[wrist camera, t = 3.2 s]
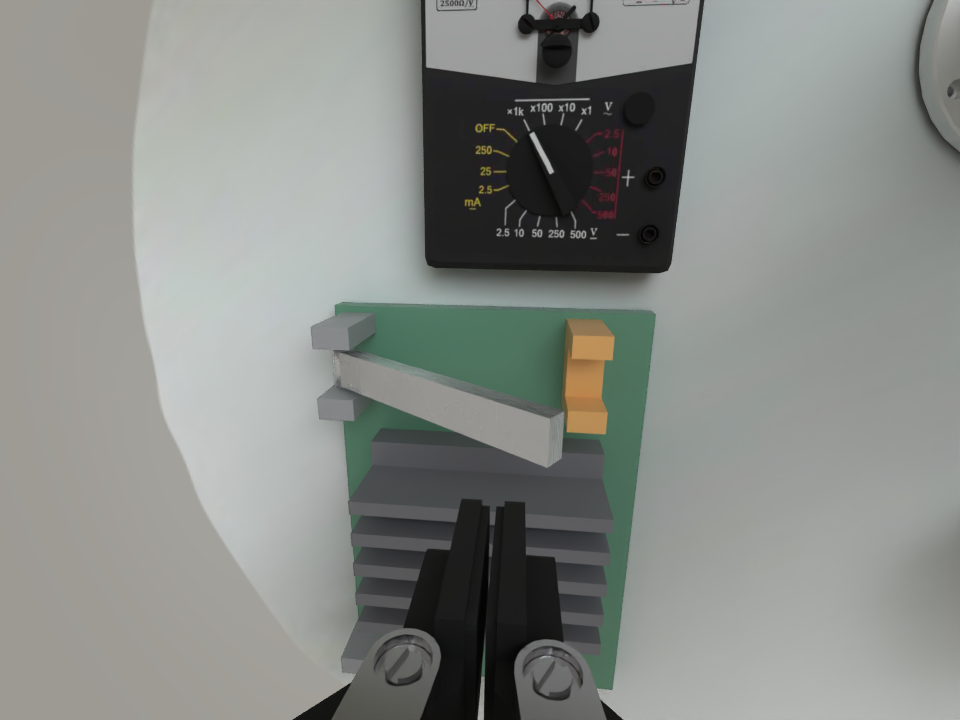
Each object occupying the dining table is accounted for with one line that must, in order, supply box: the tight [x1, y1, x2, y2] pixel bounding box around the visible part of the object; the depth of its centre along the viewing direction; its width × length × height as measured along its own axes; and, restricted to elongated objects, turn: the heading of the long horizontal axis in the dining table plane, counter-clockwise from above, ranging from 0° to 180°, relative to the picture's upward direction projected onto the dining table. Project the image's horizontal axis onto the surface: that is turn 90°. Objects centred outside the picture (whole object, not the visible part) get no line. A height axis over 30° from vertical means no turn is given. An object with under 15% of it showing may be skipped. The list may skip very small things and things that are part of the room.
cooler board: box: [311, 302, 656, 690], centre depth 29 cm, size 28×19×7 cm
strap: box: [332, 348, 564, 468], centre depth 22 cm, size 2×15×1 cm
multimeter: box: [421, 0, 704, 273], centre depth 23 cm, size 13×19×5 cm
